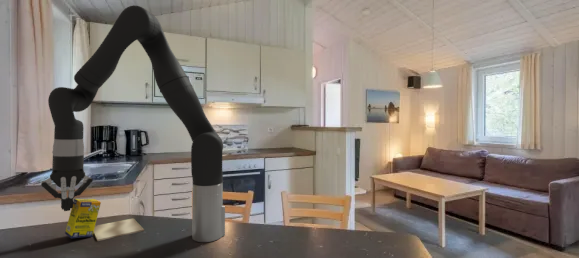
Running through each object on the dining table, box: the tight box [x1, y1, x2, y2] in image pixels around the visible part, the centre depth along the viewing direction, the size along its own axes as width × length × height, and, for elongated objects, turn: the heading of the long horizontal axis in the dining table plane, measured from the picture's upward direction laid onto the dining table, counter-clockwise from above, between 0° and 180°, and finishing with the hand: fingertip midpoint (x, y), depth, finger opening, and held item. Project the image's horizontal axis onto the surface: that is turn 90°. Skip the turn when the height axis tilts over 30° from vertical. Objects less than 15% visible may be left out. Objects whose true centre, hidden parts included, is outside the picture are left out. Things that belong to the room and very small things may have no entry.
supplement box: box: [64, 198, 102, 239], centre depth 90 cm, size 6×6×11 cm
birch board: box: [93, 218, 145, 242], centre depth 96 cm, size 13×14×1 cm
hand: (67, 210), depth 87 cm, fingers closed
